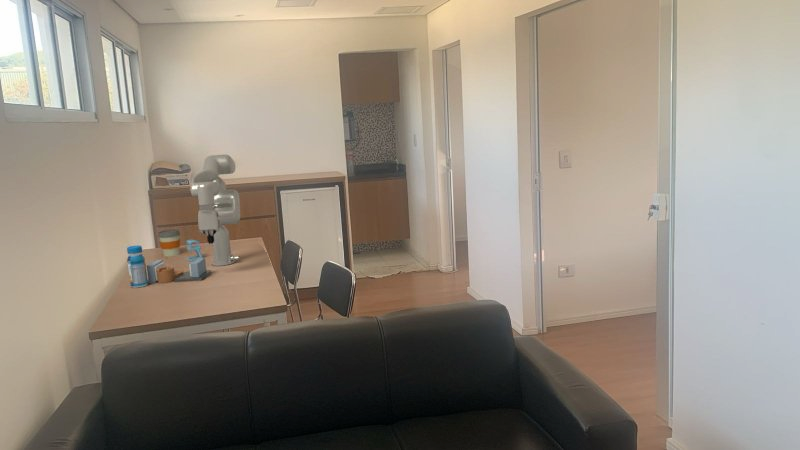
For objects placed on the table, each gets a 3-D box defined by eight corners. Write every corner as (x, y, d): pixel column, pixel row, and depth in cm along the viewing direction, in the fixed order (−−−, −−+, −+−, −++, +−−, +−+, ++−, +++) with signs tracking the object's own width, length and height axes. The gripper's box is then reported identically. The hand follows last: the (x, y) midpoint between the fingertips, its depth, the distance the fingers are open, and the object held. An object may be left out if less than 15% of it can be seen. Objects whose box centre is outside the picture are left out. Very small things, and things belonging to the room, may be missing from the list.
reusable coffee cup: (174, 252, 394) (171, 229, 391) (186, 253, 386) (183, 230, 384) (156, 256, 384) (153, 232, 381) (168, 258, 376) (165, 233, 374)
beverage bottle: (140, 288, 304) (134, 248, 301) (126, 287, 307) (121, 248, 304) (152, 283, 312) (147, 244, 309) (139, 283, 315) (133, 244, 312)
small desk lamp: (203, 258, 367) (201, 239, 365) (189, 261, 363) (187, 241, 361) (200, 257, 374) (197, 237, 372) (186, 259, 369) (183, 239, 367)
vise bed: (211, 272, 328) (210, 270, 328) (201, 280, 313) (201, 277, 312) (185, 274, 329) (185, 271, 328) (174, 282, 313) (174, 279, 313)
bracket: (170, 283, 311) (168, 270, 310) (154, 284, 312) (153, 270, 311) (186, 274, 329) (185, 262, 328) (171, 275, 330) (170, 262, 329)
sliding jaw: (206, 270, 327) (205, 257, 326) (198, 276, 314) (197, 263, 313) (198, 271, 327) (196, 258, 326) (190, 277, 314) (188, 263, 313)
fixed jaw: (166, 276, 327) (164, 259, 326) (157, 282, 314) (155, 265, 313) (158, 276, 327) (156, 260, 326) (148, 283, 314) (146, 265, 313)
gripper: (224, 205, 318) (227, 241, 321) (194, 207, 318) (199, 242, 321) (219, 207, 311) (223, 243, 314) (190, 209, 311) (194, 245, 314)
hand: (211, 243), depth 317 cm, fingers closed
